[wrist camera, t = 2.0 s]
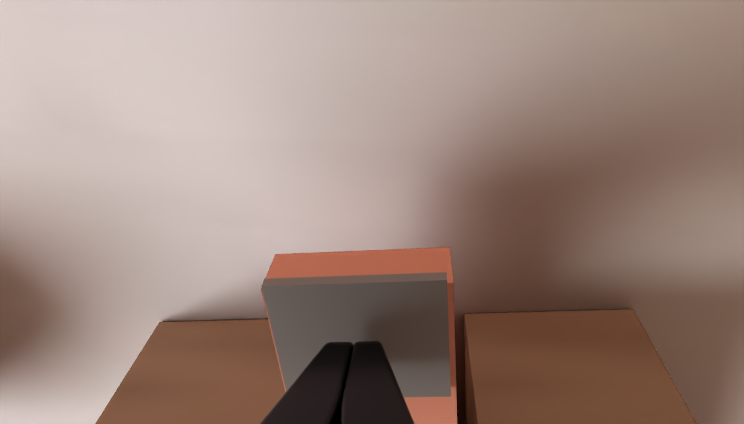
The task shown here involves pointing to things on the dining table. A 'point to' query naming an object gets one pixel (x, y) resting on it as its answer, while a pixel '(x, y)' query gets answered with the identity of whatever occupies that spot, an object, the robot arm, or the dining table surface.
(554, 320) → the brown wooden lever base
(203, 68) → the dining table surface
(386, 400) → the robot arm
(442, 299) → the lever
